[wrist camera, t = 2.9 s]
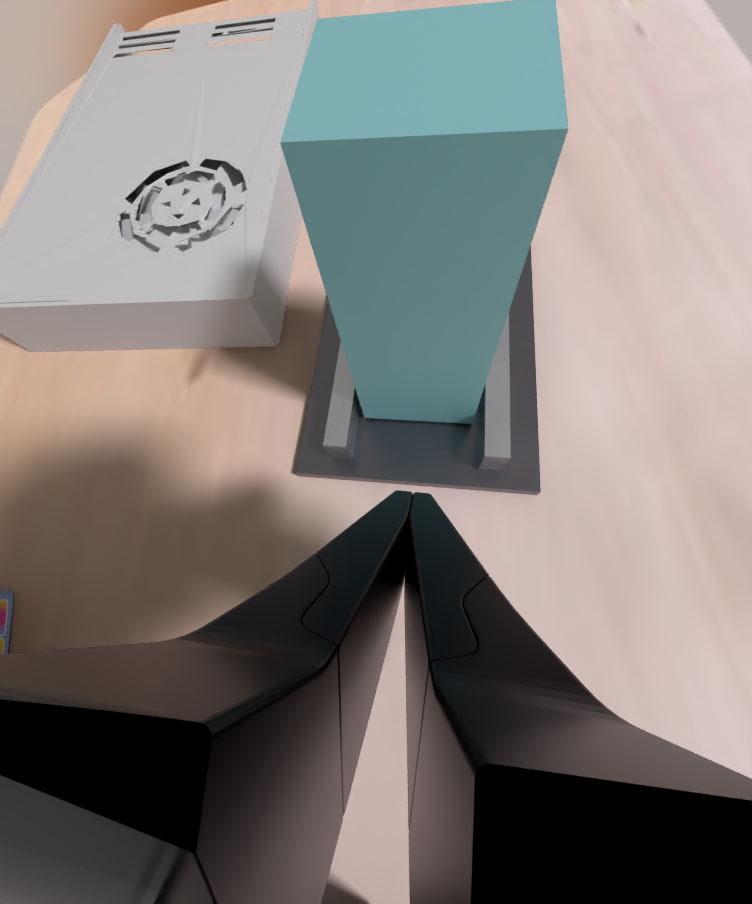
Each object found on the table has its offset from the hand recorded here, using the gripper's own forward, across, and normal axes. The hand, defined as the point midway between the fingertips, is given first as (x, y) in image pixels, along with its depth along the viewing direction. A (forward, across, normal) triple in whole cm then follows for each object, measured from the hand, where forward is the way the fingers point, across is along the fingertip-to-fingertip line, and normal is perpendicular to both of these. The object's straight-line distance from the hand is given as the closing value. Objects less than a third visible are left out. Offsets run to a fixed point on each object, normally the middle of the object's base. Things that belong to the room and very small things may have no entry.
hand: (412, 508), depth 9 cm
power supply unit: (+28, +21, -11) cm, 37 cm away
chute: (+16, +1, -1) cm, 17 cm away
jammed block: (+14, +1, +1) cm, 14 cm away
